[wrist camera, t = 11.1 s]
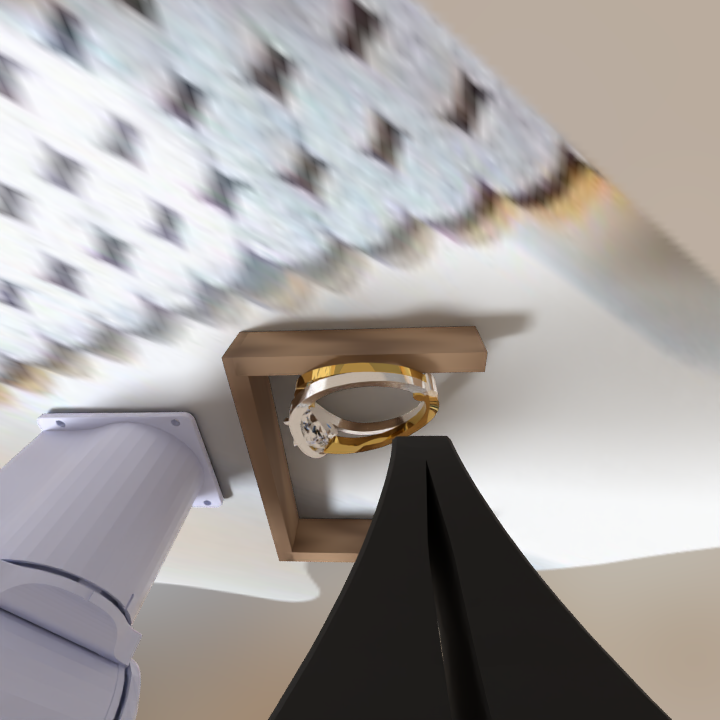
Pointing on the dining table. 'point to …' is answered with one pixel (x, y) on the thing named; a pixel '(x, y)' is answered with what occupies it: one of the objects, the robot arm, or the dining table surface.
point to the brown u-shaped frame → (296, 357)
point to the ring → (321, 425)
